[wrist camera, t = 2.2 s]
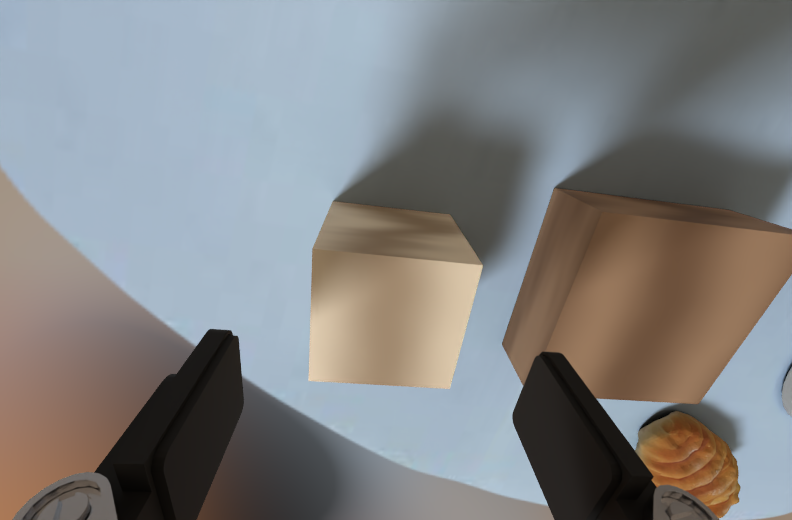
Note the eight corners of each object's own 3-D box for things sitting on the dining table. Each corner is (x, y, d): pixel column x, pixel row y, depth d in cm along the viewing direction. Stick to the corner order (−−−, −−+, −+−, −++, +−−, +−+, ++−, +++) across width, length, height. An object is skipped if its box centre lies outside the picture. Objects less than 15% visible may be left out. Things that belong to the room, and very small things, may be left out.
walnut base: (729, 210, 18) (817, 237, 14) (646, 354, 22) (698, 404, 19) (554, 188, 17) (602, 211, 13) (501, 344, 21) (527, 394, 18)
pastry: (608, 430, 26) (644, 481, 22) (695, 389, 24) (748, 437, 21) (643, 486, 29) (679, 538, 26) (721, 454, 28) (770, 504, 24)
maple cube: (449, 213, 17) (482, 265, 12) (429, 310, 20) (449, 388, 14) (333, 200, 17) (312, 248, 11) (327, 302, 19) (308, 380, 14)
